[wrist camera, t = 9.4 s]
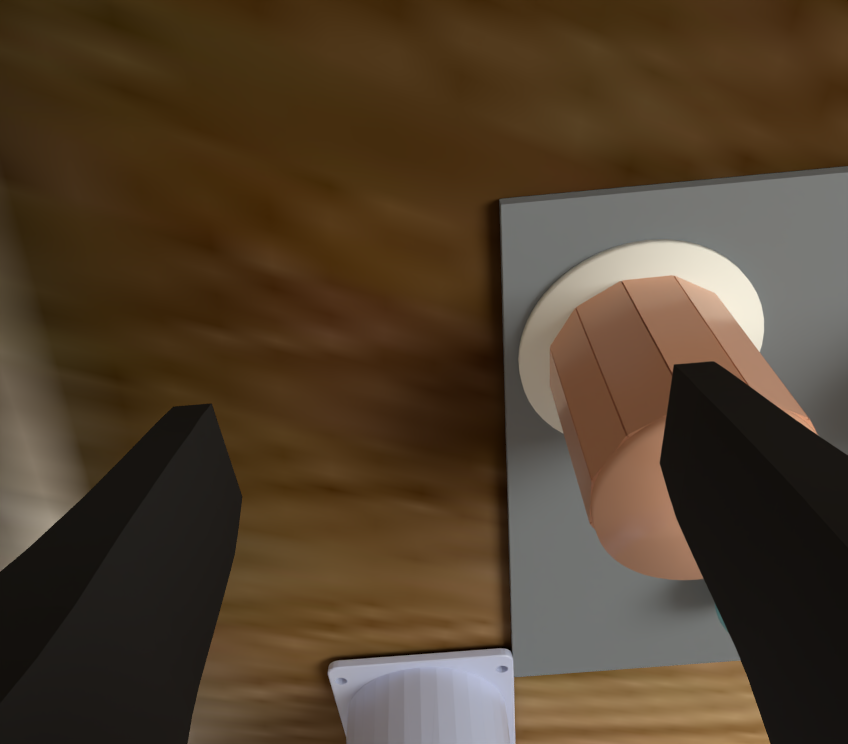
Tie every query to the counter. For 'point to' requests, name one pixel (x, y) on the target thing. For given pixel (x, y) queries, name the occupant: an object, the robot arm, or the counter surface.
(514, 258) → the slate mat
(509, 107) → the counter surface
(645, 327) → the peach domed cylinder
